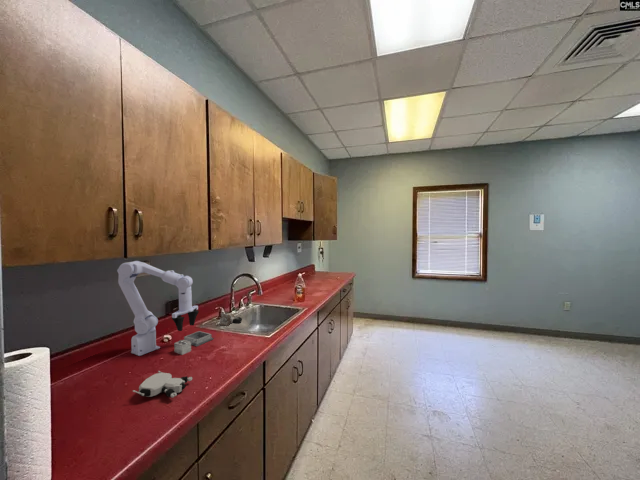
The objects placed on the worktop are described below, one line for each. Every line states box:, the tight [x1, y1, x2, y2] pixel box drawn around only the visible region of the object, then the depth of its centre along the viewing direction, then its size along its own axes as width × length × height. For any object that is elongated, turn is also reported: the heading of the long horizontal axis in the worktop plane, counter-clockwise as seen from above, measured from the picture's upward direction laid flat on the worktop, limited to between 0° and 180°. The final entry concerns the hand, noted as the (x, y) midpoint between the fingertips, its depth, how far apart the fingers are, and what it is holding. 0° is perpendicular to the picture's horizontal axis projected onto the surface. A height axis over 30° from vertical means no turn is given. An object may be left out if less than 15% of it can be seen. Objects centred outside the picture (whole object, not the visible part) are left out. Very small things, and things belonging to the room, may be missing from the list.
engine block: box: [173, 339, 192, 356], centre depth 121 cm, size 4×6×5 cm
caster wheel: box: [218, 312, 243, 327], centre depth 159 cm, size 7×11×10 cm
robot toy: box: [132, 370, 193, 398], centre depth 89 cm, size 12×4×15 cm
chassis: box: [183, 330, 215, 347], centre depth 133 cm, size 10×12×3 cm
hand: (186, 327), depth 126 cm, fingers open, 7 cm apart
